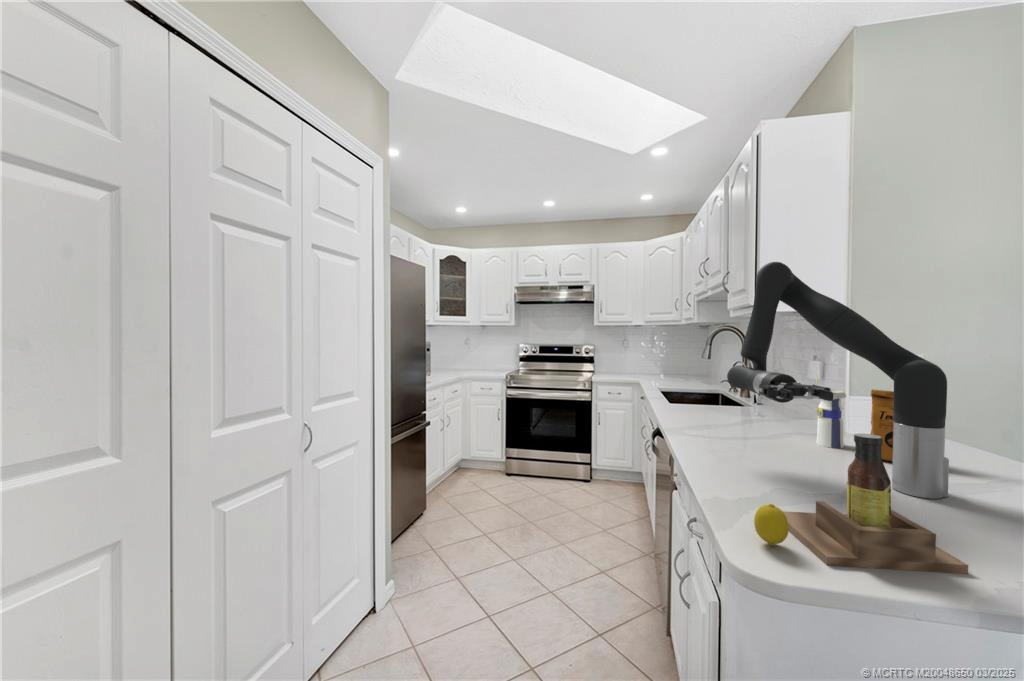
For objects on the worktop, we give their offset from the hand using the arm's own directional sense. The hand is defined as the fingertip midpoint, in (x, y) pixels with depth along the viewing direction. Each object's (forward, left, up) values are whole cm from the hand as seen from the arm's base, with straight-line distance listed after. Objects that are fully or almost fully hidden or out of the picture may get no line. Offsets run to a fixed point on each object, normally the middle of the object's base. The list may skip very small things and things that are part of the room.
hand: (811, 396), depth 94 cm
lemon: (+18, +19, -26) cm, 37 cm away
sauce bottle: (0, +18, -24) cm, 31 cm away
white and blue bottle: (-37, -54, -26) cm, 70 cm away
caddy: (0, +16, -26) cm, 30 cm away
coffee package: (-46, -38, -26) cm, 65 cm away
